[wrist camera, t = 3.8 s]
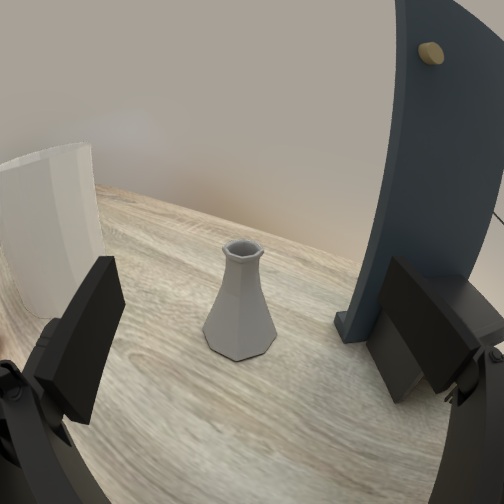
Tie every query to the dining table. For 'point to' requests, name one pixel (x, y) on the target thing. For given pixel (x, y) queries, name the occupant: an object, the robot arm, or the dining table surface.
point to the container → (50, 225)
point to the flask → (240, 306)
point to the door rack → (434, 179)
